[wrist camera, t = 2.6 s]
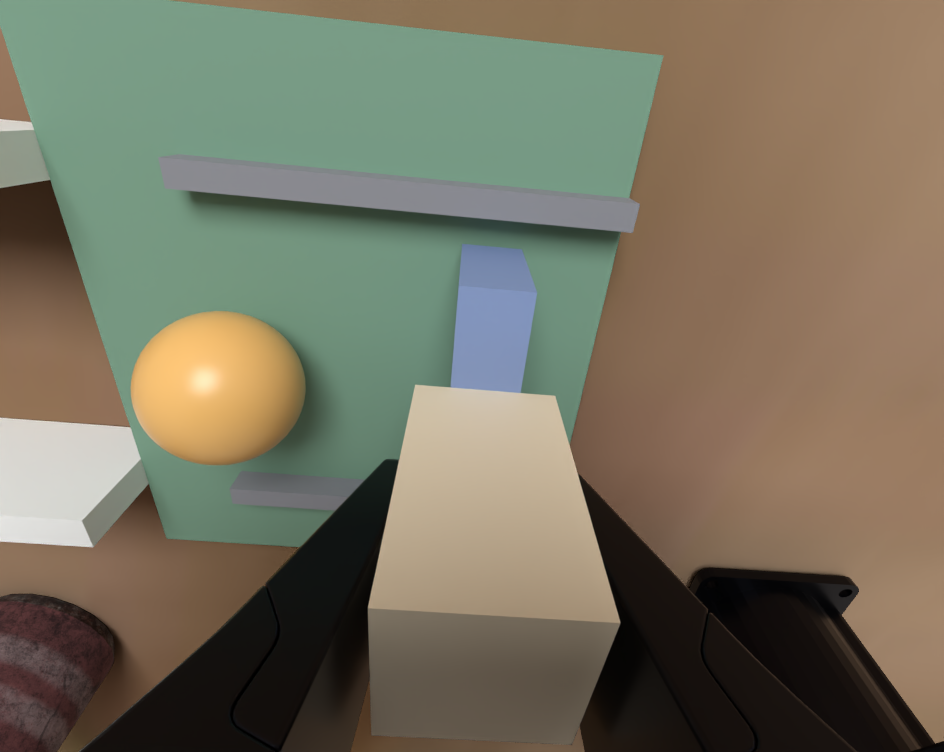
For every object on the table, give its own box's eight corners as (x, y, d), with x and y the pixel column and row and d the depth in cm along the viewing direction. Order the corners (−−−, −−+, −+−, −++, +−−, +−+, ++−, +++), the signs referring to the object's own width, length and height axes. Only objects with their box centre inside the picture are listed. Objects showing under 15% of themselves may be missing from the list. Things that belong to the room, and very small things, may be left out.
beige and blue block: (551, 252, 11) (677, 479, 4) (512, 479, 14) (546, 807, 8) (432, 241, 11) (363, 457, 4) (420, 472, 14) (373, 800, 8)
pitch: (640, 62, 11) (678, 51, 9) (536, 529, 18) (544, 582, 16) (48, -3, 10) (-56, -31, 8) (189, 506, 17) (152, 557, 15)
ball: (318, 295, 12) (262, 362, 9) (326, 414, 14) (283, 504, 10) (172, 283, 12) (62, 346, 9) (200, 404, 13) (116, 494, 10)
